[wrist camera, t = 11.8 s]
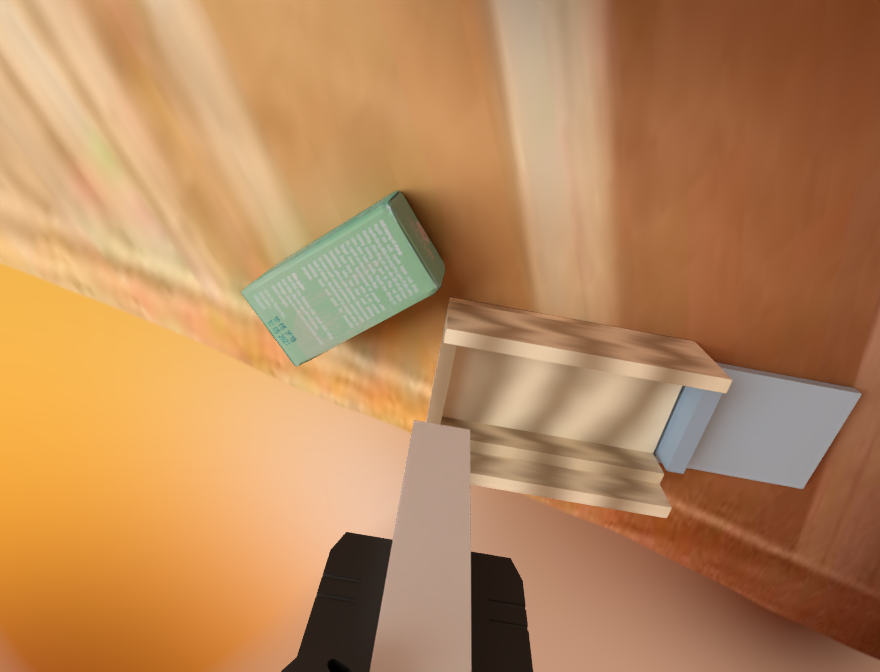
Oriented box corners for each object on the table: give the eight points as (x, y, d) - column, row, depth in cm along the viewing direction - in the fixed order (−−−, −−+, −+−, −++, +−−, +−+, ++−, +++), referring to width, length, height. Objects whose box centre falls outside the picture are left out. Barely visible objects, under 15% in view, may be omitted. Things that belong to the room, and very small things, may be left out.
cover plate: (648, 452, 50) (662, 479, 46) (690, 355, 45) (710, 377, 42) (793, 478, 50) (819, 507, 47) (850, 385, 46) (883, 409, 42)
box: (449, 262, 43) (444, 290, 36) (321, 333, 46) (295, 371, 39) (403, 184, 40) (388, 199, 33) (272, 265, 44) (235, 293, 37)
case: (424, 428, 50) (417, 475, 43) (449, 296, 44) (446, 328, 37) (641, 466, 50) (666, 518, 44) (694, 341, 44) (732, 380, 38)
